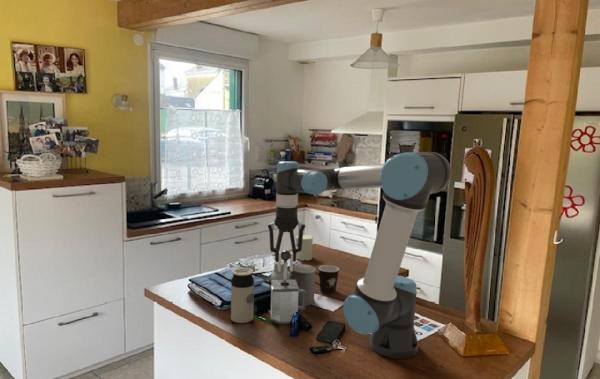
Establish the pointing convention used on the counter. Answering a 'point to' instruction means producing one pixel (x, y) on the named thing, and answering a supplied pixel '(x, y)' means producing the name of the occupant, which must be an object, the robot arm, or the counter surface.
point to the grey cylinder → (304, 282)
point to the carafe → (285, 301)
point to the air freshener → (279, 275)
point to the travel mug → (242, 295)
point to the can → (305, 248)
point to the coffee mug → (328, 278)
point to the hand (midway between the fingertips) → (285, 270)
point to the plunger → (285, 265)
